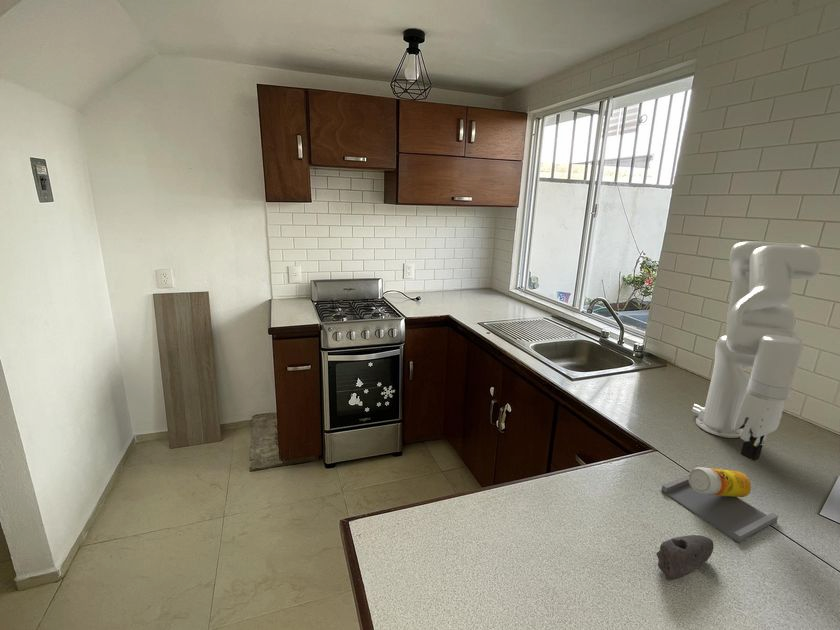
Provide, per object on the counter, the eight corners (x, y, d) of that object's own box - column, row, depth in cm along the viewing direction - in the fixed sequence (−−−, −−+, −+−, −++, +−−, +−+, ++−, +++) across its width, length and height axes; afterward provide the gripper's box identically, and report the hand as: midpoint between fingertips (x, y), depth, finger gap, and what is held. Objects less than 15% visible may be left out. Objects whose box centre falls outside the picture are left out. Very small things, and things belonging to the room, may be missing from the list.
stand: (661, 491, 106) (662, 485, 105) (698, 475, 112) (699, 470, 112) (738, 543, 90) (740, 536, 90) (776, 522, 97) (778, 515, 96)
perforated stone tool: (697, 547, 89) (704, 520, 87) (721, 567, 84) (729, 539, 83) (644, 567, 84) (650, 539, 82) (667, 590, 79) (674, 560, 77)
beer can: (758, 486, 101) (717, 482, 96) (741, 502, 103) (700, 499, 98) (738, 466, 106) (697, 461, 101) (722, 481, 109) (681, 478, 103)
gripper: (767, 377, 103) (749, 442, 108) (732, 387, 97) (714, 456, 102) (805, 389, 97) (784, 458, 102) (769, 401, 90) (749, 474, 95)
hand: (749, 457), depth 102 cm, fingers closed
